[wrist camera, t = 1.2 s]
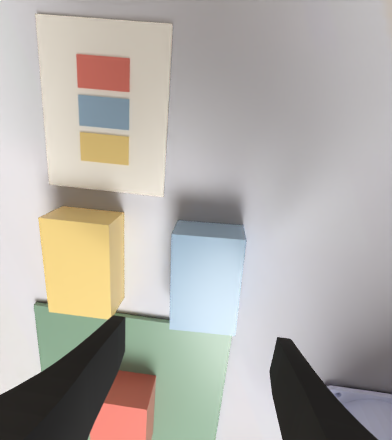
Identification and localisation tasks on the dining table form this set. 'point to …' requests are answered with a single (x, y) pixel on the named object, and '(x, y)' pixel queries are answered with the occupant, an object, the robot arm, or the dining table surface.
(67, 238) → the ochre brick
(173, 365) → the baseplate
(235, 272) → the slate-blue brick
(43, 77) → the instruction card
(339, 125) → the dining table surface
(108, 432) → the red base brick
